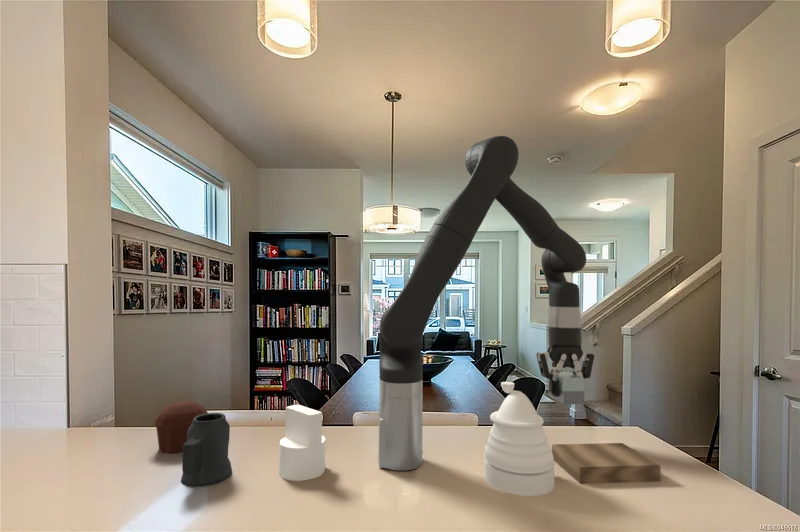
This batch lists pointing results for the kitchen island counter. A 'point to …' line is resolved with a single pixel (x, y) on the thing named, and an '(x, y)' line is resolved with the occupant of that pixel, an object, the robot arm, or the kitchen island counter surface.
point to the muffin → (176, 425)
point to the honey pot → (518, 448)
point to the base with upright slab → (302, 445)
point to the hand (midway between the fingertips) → (565, 395)
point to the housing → (569, 389)
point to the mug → (206, 451)
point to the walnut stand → (605, 463)
